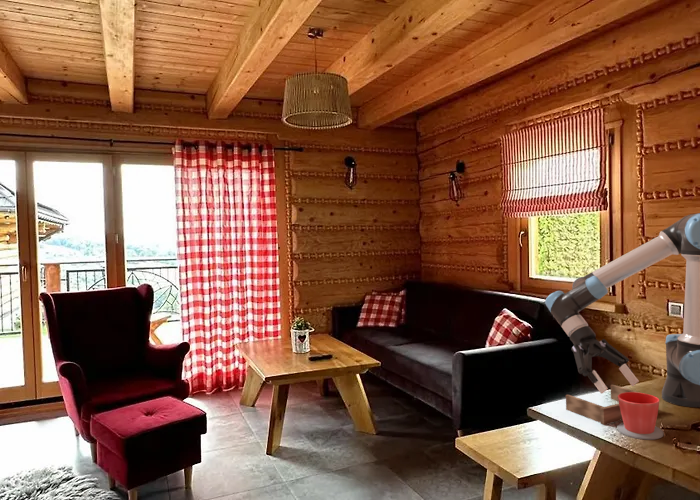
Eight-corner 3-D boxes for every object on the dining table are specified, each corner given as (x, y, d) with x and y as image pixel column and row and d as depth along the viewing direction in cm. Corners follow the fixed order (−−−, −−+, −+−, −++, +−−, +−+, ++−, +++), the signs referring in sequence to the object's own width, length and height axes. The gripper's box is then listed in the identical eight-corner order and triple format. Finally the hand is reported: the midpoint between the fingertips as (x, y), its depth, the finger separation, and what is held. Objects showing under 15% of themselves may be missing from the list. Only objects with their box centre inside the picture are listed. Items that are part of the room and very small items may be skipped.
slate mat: (651, 423, 156) (651, 421, 156) (671, 439, 144) (671, 437, 144) (611, 423, 157) (610, 422, 157) (627, 439, 145) (626, 437, 145)
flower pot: (667, 437, 144) (665, 403, 144) (625, 436, 147) (624, 403, 146) (652, 423, 155) (651, 392, 154) (614, 422, 157) (612, 391, 157)
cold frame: (564, 409, 171) (564, 395, 171) (614, 398, 180) (614, 384, 180) (604, 424, 157) (603, 409, 157) (655, 411, 166) (655, 396, 166)
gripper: (599, 333, 176) (640, 386, 163) (545, 343, 166) (584, 400, 153) (611, 320, 171) (655, 374, 158) (556, 329, 161) (598, 388, 148)
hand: (620, 387), depth 155 cm, fingers open, 13 cm apart
